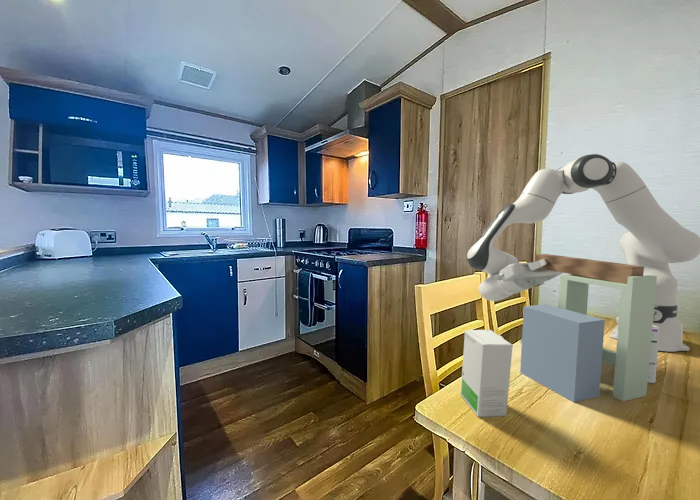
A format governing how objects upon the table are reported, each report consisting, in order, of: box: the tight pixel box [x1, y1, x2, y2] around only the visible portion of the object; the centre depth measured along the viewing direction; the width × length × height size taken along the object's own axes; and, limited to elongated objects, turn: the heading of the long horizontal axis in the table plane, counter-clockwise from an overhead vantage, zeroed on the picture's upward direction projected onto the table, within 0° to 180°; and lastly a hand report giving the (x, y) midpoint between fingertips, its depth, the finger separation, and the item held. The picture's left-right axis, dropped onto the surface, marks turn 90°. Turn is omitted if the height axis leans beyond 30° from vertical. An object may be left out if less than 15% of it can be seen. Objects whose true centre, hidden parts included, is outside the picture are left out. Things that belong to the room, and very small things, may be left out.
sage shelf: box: [557, 274, 657, 402], centre depth 74 cm, size 16×8×28 cm, turn 17°
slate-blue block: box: [519, 303, 606, 403], centre depth 73 cm, size 14×8×18 cm, turn 17°
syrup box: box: [647, 325, 660, 384], centre depth 76 cm, size 6×6×14 cm
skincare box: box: [460, 329, 514, 418], centre depth 63 cm, size 8×7×16 cm
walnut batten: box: [534, 253, 644, 284], centre depth 78 cm, size 24×4×4 cm, turn 18°
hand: (553, 260), depth 85 cm, fingers closed on walnut batten, 4 cm apart
